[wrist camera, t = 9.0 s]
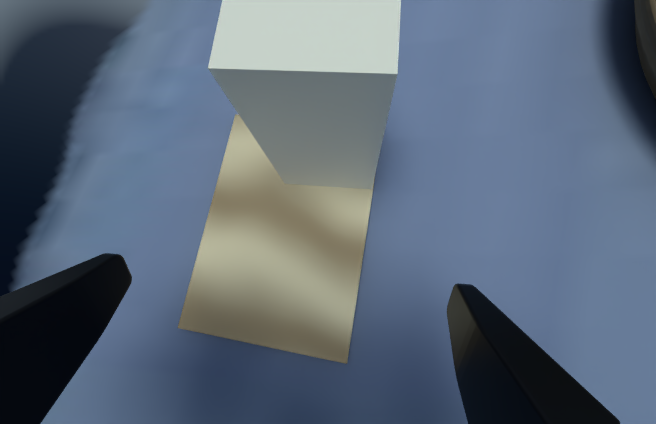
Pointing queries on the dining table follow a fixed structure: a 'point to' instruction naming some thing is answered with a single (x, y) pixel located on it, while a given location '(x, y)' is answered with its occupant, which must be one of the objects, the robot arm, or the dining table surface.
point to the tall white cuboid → (311, 82)
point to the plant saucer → (646, 39)
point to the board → (277, 258)
